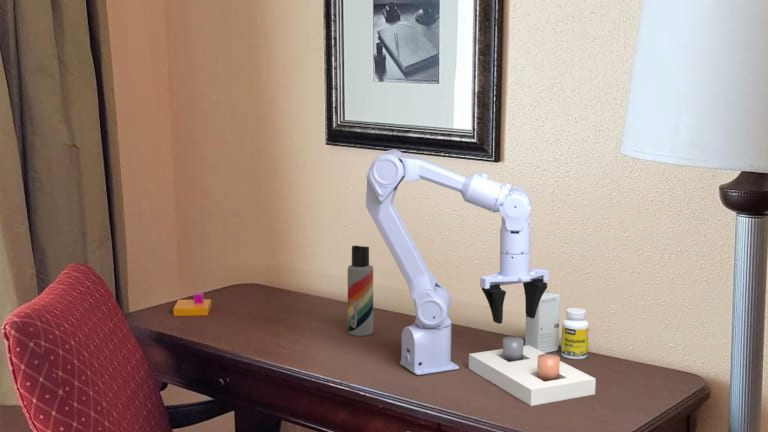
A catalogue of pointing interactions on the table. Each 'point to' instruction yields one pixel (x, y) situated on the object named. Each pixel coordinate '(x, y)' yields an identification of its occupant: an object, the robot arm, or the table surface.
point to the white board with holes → (531, 377)
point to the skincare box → (544, 324)
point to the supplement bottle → (575, 334)
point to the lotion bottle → (360, 293)
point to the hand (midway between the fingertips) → (514, 319)
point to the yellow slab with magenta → (192, 306)
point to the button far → (512, 349)
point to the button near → (548, 367)
